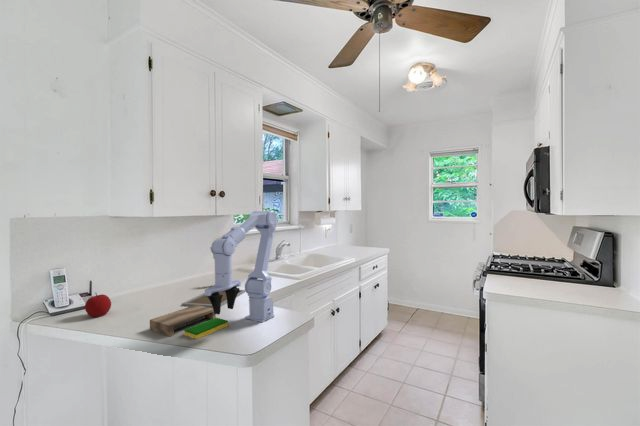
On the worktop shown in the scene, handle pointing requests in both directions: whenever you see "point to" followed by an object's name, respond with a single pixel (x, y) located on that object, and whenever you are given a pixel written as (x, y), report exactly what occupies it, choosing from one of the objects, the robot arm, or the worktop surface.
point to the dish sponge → (206, 328)
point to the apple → (98, 305)
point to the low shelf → (180, 319)
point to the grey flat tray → (205, 301)
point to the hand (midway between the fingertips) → (223, 311)
